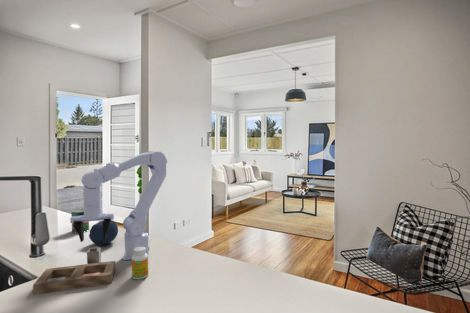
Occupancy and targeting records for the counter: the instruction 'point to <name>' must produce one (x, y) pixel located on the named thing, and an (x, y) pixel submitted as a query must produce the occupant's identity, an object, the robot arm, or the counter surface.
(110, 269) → the socket board
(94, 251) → the plug
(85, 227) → the canned tomato
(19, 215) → the counter surface
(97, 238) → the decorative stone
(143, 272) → the supplement bottle
